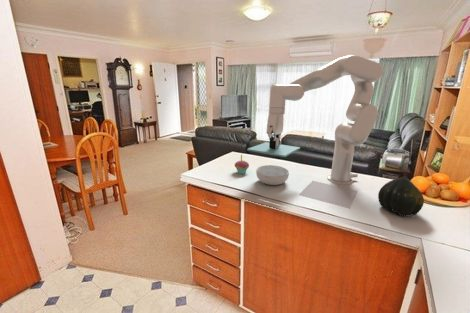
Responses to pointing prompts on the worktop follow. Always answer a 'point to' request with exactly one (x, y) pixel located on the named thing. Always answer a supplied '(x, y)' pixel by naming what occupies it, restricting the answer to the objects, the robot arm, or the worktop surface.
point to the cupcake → (241, 166)
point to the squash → (401, 197)
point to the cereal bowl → (272, 174)
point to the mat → (330, 194)
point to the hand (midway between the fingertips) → (274, 147)
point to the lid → (278, 151)
